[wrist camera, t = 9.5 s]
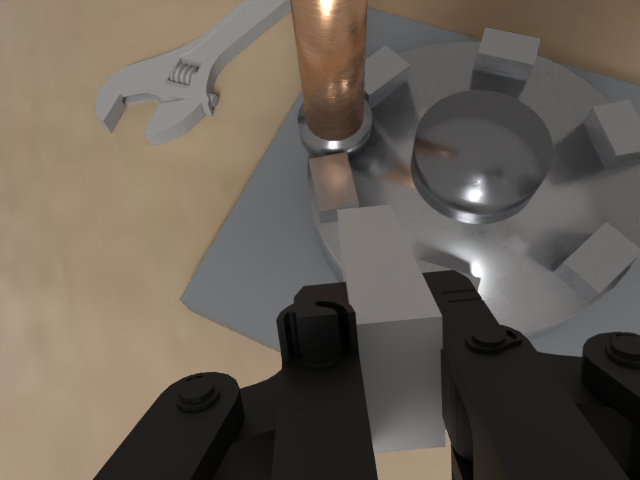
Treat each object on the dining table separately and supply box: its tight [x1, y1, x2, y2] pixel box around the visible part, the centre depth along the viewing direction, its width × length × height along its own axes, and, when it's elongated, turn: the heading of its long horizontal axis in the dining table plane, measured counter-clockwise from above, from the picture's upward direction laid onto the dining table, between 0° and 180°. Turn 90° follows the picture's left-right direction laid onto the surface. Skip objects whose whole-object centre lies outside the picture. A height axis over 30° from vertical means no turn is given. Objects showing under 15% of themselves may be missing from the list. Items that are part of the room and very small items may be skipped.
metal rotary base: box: [290, 0, 640, 341], centre depth 22 cm, size 17×16×13 cm
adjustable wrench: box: [95, 0, 291, 146], centre depth 36 cm, size 25×6×2 cm, turn 134°
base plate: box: [179, 7, 640, 429], centre depth 29 cm, size 22×22×2 cm
